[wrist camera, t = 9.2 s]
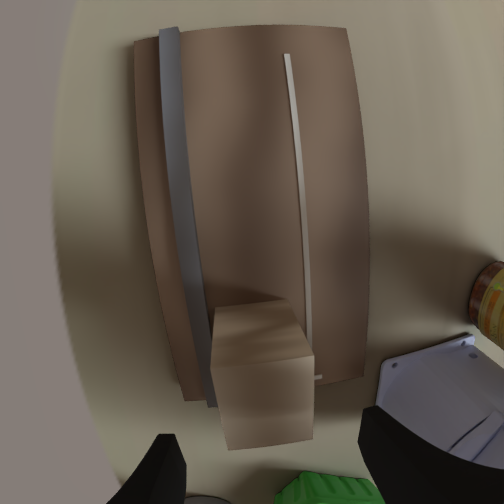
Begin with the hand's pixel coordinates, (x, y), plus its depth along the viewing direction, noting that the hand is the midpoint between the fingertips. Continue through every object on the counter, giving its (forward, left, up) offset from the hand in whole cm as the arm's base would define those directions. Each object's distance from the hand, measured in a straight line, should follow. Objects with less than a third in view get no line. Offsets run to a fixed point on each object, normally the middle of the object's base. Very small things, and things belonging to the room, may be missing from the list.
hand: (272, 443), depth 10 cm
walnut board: (-1, -7, -9) cm, 12 cm away
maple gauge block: (0, 0, -8) cm, 8 cm away
